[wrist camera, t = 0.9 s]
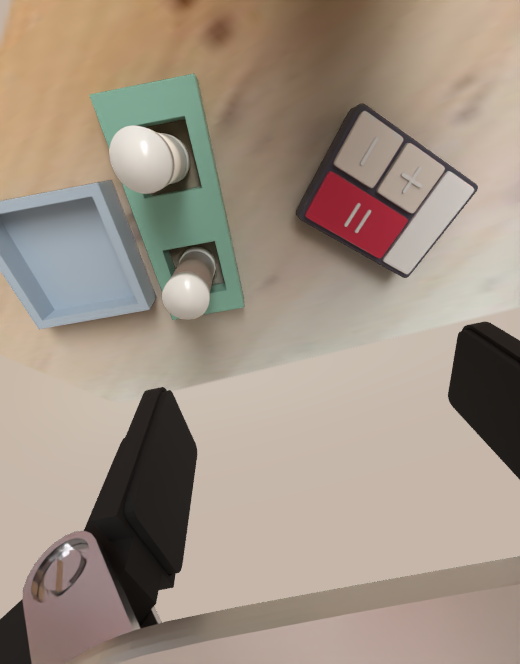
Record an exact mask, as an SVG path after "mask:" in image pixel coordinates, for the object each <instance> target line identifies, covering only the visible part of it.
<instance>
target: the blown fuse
mask: <svg viewBox="0 0 520 664" xmlns="http://www.w3.org/2000/svg"><path fill="white" fill-rule="evenodd" d="M215 270H216V261H215V258H214V256H213V255H212V253H211V252H210V251H208V250H207V249H205V248H203V247H191V248H189V249H187V250H186V251H185V252H184V253H183V255H182V257H181V258H180V261H179V264H178V266H177V268H176V270H175V271H174V273H173V275H172V277H171V278H170V279H169V280H168V282H167V284H166V285H165V287H164V289H163V292H162V301H163V304H164V306H165V308H166V309H167V310H168V311H169V312H170V313H171V314H172V315H174V316H175V317H177V318H180V319H186V320H190V319H195V318H198V317H200V316H201V315H203V314H204V313H205V311H206V310H207V308H208V305H209V300H210V290H211V285H212V280H213V277H214V274H215Z"/></svg>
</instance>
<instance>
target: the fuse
mask: <svg viewBox="0 0 520 664" xmlns="http://www.w3.org/2000/svg"><path fill="white" fill-rule="evenodd" d="M109 156H110V162H111V165H112V168H113V170H114V172H115V174H116V176H117V177H118V179H119V180H120V181H121V182H122V183H123V184H124V185H125V186H127V187H128V188H129V189H131V190H133V191H135V192H138V193H143V194H149V193H154V192H156V191H159V190H161V189H163V188H164V187H166V186H167V185H169V184H173V183H176V182H178V181H181V180H182V179H183V178H184V177H185V176H186V175H187V173H188V171H189V168H190V156H189V153H188V150H187V148H186V146H185V145H184V144H183V143H182V141H180V140H179V139H178V138H177V137H175V136H172V135H169V134H165V133H157V132H155V131H153V130H151V129H148V128H145V127H141V126H134V125H133V126H127V127H124V128H122V129H120V130H119V131H118V132H117V133H116V134H115V135H114V137H113V139H112V141H111V144H110V149H109Z"/></svg>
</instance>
